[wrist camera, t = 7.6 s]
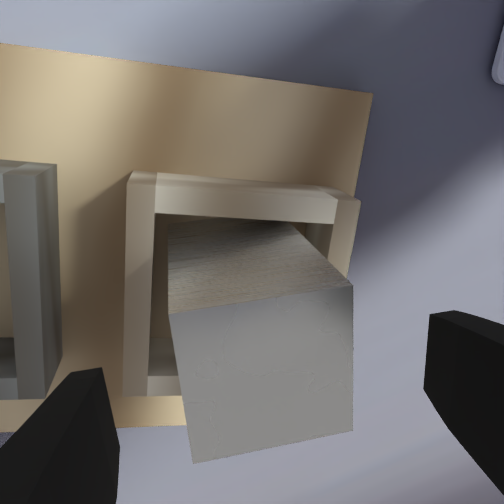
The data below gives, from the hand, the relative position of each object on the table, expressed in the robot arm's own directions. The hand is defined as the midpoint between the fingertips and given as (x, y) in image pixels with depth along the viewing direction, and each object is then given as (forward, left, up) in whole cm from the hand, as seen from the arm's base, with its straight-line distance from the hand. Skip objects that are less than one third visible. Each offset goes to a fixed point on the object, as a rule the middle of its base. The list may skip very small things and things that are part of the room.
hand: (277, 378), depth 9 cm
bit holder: (+4, +1, -8) cm, 9 cm away
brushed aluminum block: (0, 0, -7) cm, 7 cm away
